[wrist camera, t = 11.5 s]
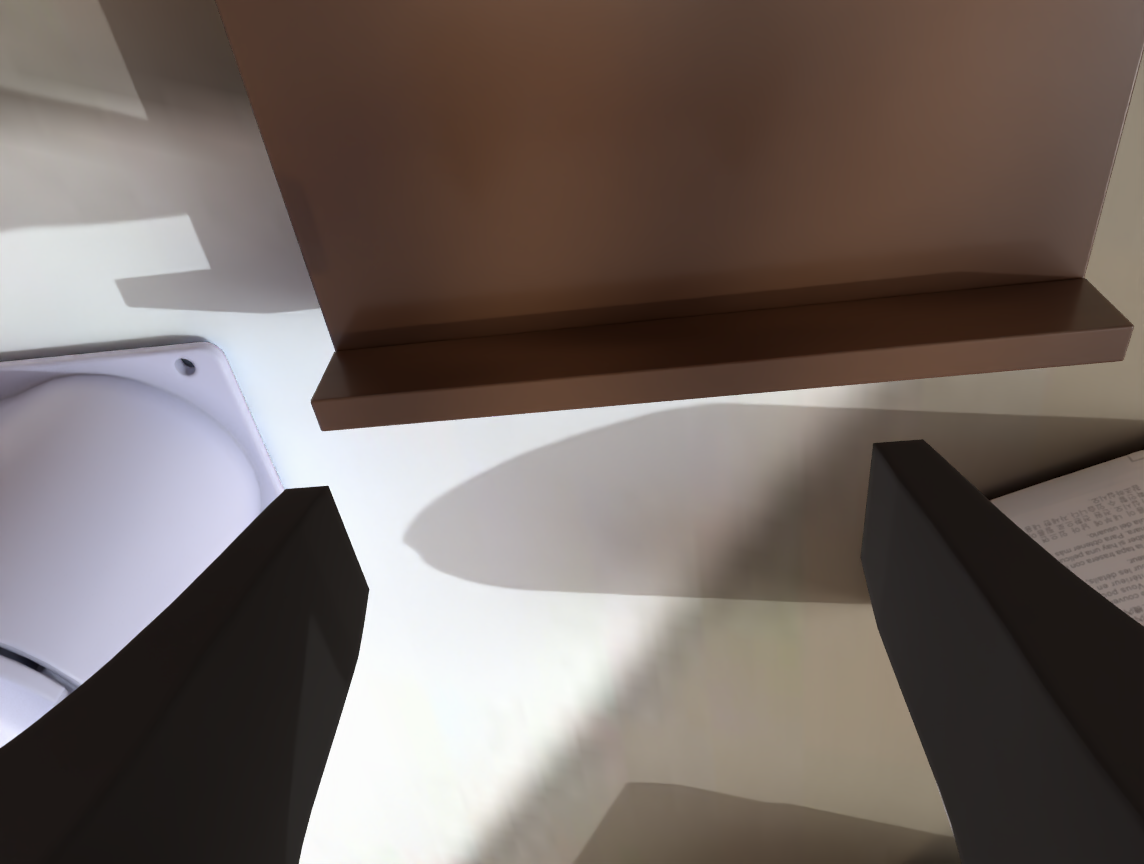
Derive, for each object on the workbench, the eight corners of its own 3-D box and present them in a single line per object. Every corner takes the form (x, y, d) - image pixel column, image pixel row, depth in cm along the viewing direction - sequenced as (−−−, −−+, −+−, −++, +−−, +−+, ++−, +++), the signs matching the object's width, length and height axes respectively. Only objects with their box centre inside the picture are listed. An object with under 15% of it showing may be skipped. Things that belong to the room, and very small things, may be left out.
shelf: (371, 320, 21) (321, 432, 18) (245, -90, 16) (135, -56, 12) (1023, 254, 20) (1124, 361, 16) (1123, -224, 15) (1310, -233, 11)
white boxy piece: (887, 620, 28) (1046, 1073, 18) (844, 537, 26) (999, 1002, 16) (1234, 511, 24) (1663, 991, 15) (1220, 406, 22) (1715, 886, 12)
